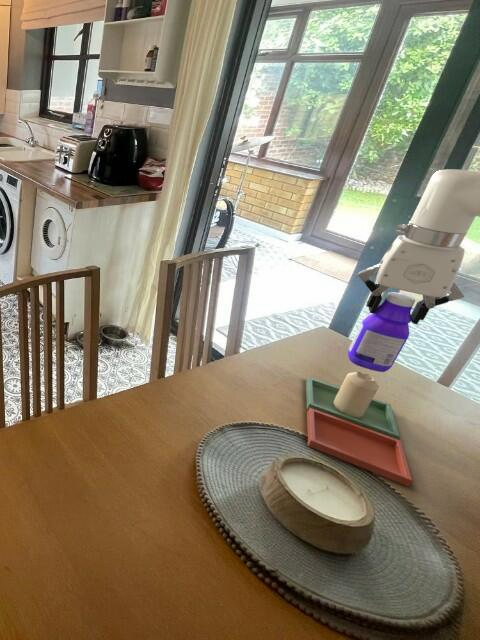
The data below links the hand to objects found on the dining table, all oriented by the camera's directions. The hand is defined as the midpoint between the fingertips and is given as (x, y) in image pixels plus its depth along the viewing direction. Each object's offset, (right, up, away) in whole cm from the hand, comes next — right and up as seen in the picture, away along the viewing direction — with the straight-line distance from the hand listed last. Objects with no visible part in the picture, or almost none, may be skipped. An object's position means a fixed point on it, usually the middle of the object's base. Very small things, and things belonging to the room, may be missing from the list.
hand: (392, 315), depth 85 cm
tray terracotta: (-6, -29, +2) cm, 29 cm away
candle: (+1, -24, +12) cm, 27 cm away
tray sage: (+1, -24, +12) cm, 27 cm away
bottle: (0, -12, +5) cm, 13 cm away
